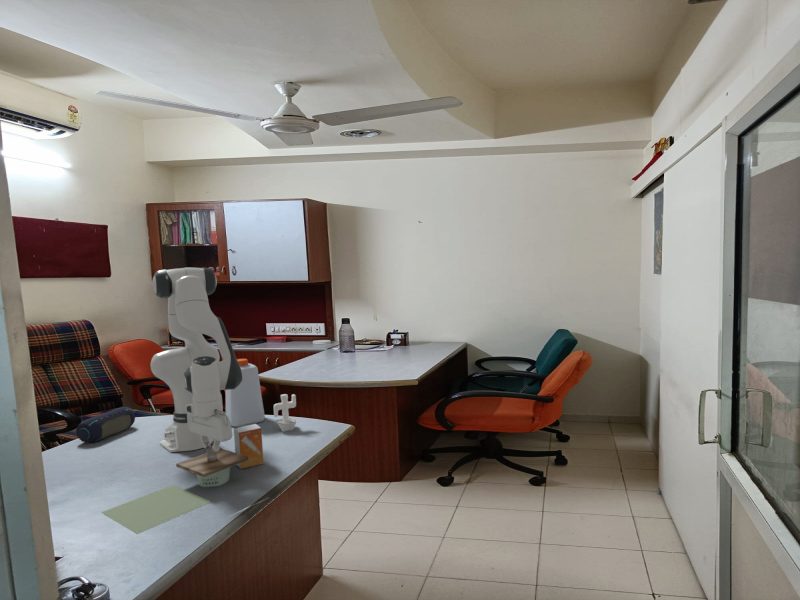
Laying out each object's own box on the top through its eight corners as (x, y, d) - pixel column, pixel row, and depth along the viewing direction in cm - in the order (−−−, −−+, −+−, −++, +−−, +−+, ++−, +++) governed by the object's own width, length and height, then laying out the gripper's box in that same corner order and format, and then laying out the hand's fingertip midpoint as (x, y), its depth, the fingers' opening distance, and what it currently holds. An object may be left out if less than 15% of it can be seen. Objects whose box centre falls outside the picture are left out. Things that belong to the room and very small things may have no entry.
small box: (241, 469, 182) (238, 432, 181) (235, 464, 188) (233, 428, 187) (264, 463, 187) (261, 427, 186) (258, 458, 192) (255, 423, 191)
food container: (192, 493, 166) (191, 472, 165) (196, 478, 177) (194, 459, 177) (233, 486, 169) (231, 466, 168) (234, 472, 180) (232, 453, 180)
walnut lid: (176, 466, 171) (175, 451, 171) (220, 450, 184) (219, 436, 183) (204, 477, 161) (202, 461, 161) (248, 459, 174) (247, 444, 173)
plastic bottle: (223, 421, 241) (218, 360, 239) (256, 414, 249) (252, 355, 247) (233, 429, 228) (228, 364, 226) (267, 421, 237) (263, 359, 234)
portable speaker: (93, 446, 216) (90, 422, 215) (74, 444, 219) (72, 421, 218) (140, 426, 239) (138, 404, 239) (123, 425, 242) (120, 404, 242)
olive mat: (101, 513, 155) (101, 512, 155) (173, 486, 172) (173, 484, 172) (137, 535, 141) (137, 533, 141) (211, 502, 158) (211, 501, 158)
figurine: (273, 429, 225) (271, 394, 224) (295, 425, 229) (293, 391, 228) (277, 433, 219) (274, 398, 218) (299, 429, 223) (297, 394, 221)
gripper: (235, 409, 167) (238, 452, 168) (199, 401, 180) (203, 441, 181) (217, 415, 162) (221, 459, 163) (182, 405, 175) (185, 446, 176)
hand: (211, 449), depth 172 cm, fingers open, 4 cm apart
